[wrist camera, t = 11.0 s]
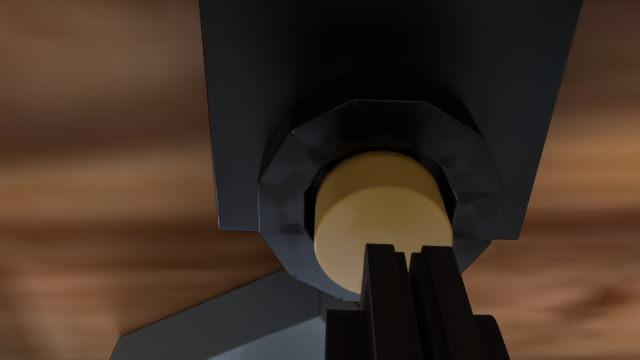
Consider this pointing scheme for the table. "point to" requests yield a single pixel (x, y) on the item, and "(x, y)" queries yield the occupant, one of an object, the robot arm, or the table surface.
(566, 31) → the lamp base
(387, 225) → the lamp switch
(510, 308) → the table surface
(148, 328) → the dimmer panel
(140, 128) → the table surface
